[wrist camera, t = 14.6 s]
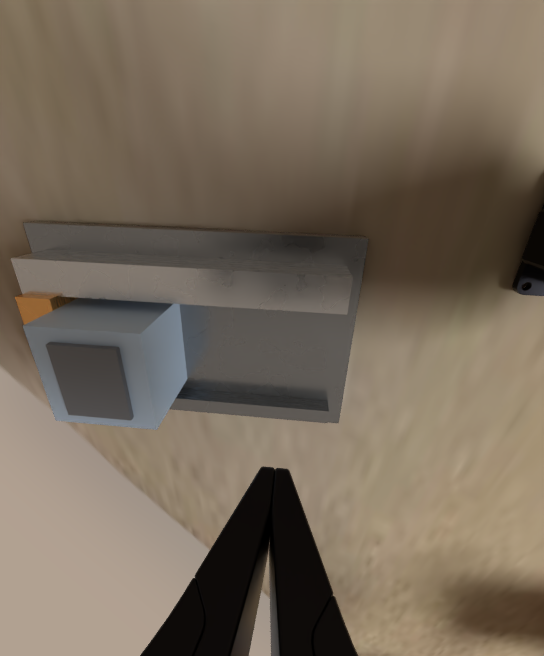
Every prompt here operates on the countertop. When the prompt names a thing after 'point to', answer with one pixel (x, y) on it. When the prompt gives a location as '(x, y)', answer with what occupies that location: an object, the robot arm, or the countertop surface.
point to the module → (110, 360)
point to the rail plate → (244, 335)
